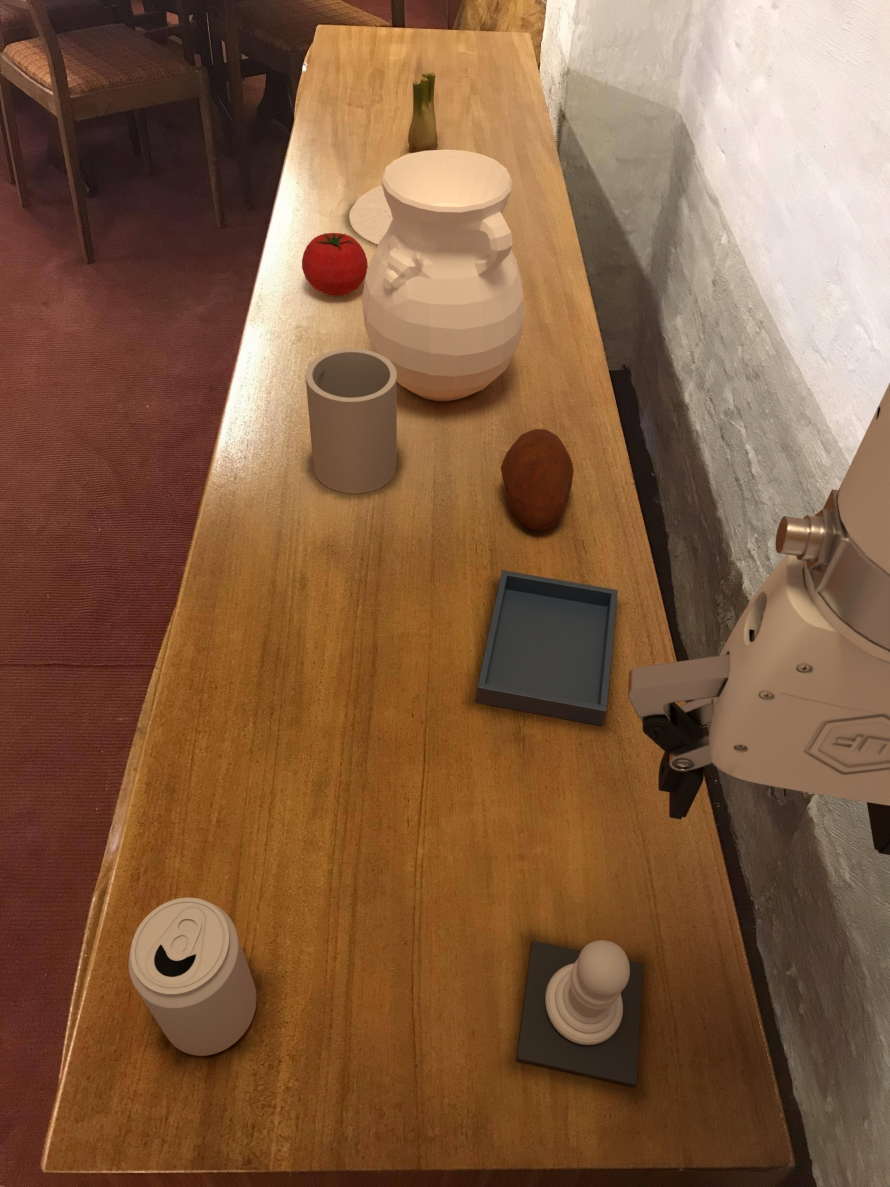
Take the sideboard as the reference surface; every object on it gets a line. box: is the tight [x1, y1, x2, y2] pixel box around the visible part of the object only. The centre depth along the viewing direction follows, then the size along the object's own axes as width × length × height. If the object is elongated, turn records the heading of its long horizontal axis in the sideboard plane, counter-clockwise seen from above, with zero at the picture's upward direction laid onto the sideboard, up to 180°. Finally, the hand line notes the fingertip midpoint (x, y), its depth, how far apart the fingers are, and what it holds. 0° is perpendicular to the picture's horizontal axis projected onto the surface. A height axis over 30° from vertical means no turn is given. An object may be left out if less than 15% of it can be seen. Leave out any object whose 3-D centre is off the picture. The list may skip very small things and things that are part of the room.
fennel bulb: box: [407, 72, 439, 153], centre depth 150 cm, size 6×5×12 cm
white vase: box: [361, 149, 525, 402], centre depth 101 cm, size 19×18×25 cm
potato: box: [500, 428, 574, 531], centre depth 94 cm, size 8×12×8 cm, turn 179°
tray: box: [475, 569, 619, 727], centre depth 82 cm, size 14×11×2 cm
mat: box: [515, 940, 644, 1088], centre depth 62 cm, size 8×8×1 cm
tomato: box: [301, 232, 369, 297], centre depth 120 cm, size 9×9×8 cm
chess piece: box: [545, 939, 630, 1045], centre depth 59 cm, size 5×5×9 cm
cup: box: [305, 347, 398, 495], centre depth 95 cm, size 9×9×12 cm
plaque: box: [348, 184, 393, 245], centre depth 138 cm, size 20×20×2 cm
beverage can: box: [128, 897, 257, 1057], centre depth 57 cm, size 6×6×12 cm
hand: (775, 809), depth 44 cm, fingers open, 9 cm apart
